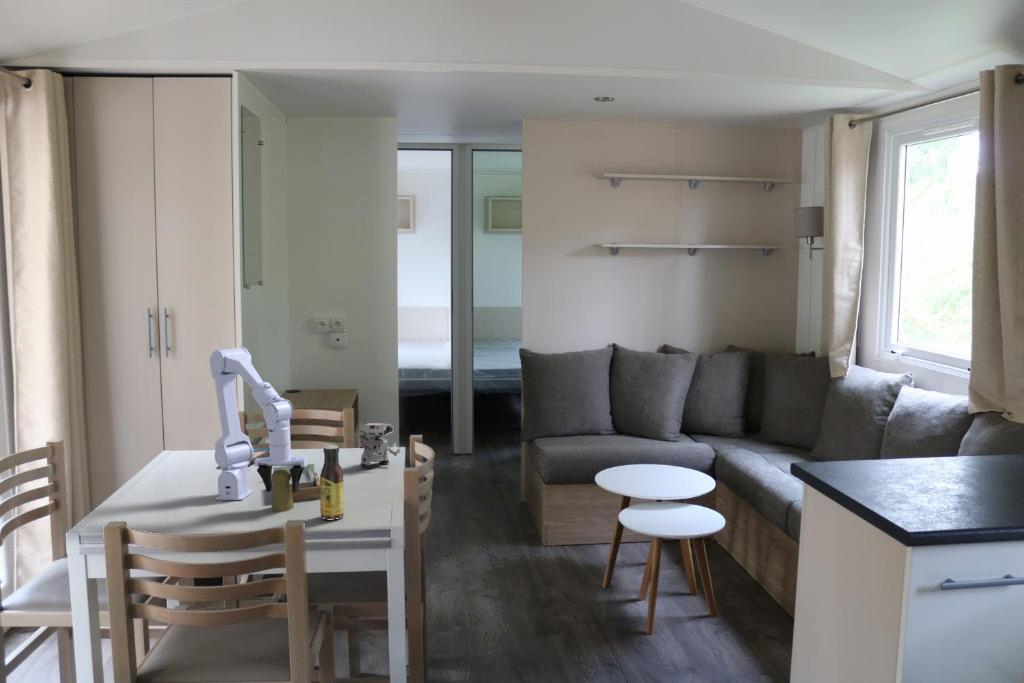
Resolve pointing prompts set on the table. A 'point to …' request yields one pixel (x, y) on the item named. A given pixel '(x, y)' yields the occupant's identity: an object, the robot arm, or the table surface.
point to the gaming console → (258, 455)
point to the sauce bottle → (331, 485)
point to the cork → (281, 491)
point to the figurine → (376, 444)
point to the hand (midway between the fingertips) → (282, 491)
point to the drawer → (305, 478)
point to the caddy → (308, 491)
